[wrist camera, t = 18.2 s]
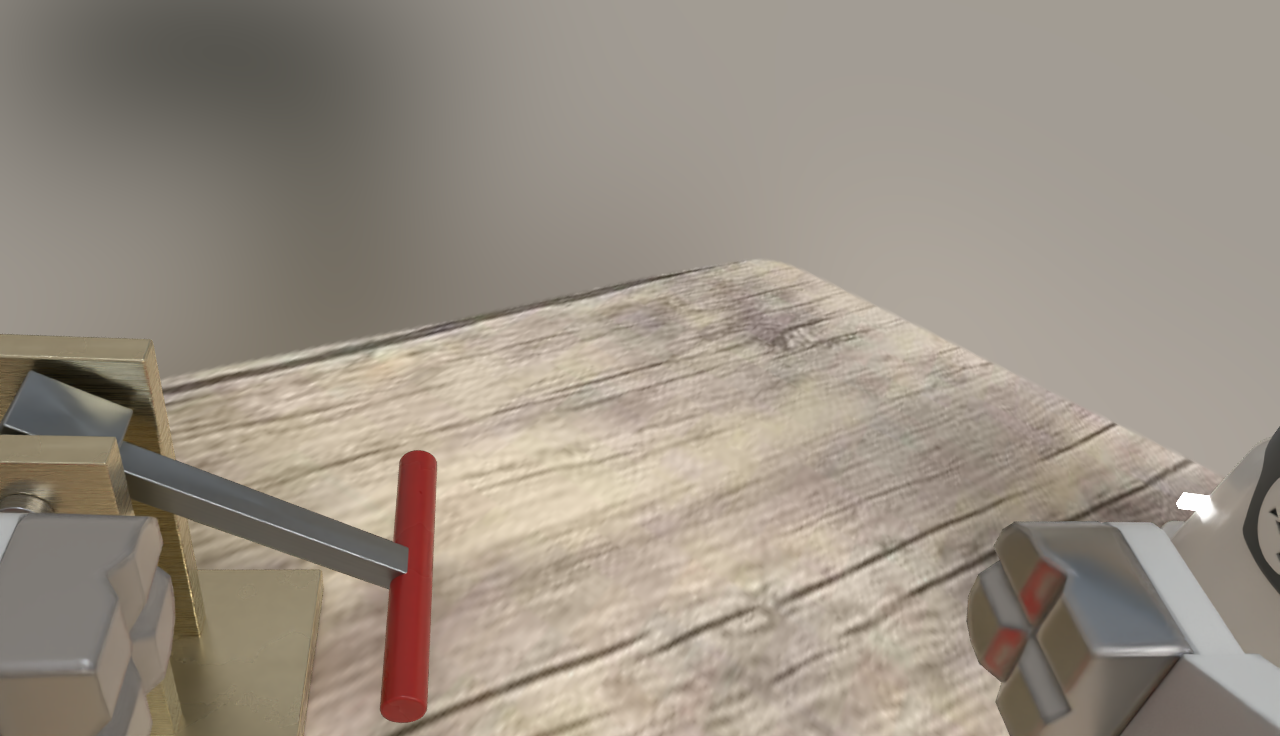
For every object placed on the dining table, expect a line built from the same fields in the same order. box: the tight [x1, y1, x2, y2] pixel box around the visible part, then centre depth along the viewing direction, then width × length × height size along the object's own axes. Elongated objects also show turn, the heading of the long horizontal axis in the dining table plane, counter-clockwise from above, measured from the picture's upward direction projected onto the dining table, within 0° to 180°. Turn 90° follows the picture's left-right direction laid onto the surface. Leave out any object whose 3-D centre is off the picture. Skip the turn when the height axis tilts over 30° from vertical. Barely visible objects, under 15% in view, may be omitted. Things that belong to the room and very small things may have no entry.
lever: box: [0, 370, 437, 723], centre depth 31 cm, size 13×10×2 cm
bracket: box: [0, 334, 323, 736], centre depth 32 cm, size 12×9×14 cm
